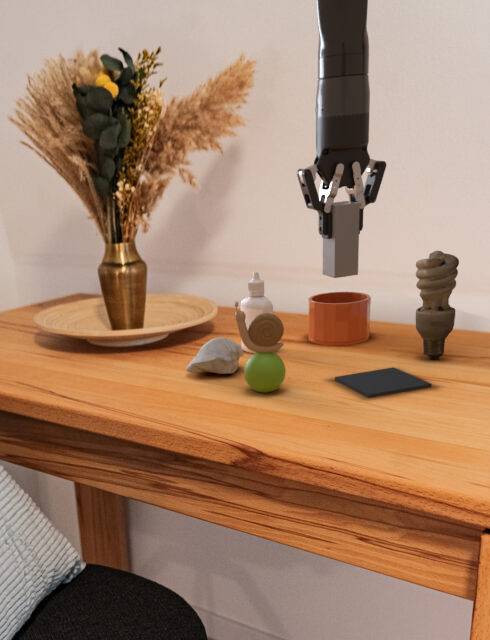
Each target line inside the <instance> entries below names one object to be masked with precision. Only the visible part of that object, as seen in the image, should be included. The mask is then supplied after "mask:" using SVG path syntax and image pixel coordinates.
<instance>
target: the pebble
mask: <svg viewBox="0 0 490 640" xmlns="http://www.w3.org/2000/svg"><path fill="white" fill-rule="evenodd" d="M241 357H244V350H243V349H242V347H241V345H240V344H238V342H236V341H235V340H233V339H232V338H228V337H220V336H219V337H215V338H212V339H210V340H209V341H207V342H205V343H204V344H203V345H202V346H201V347H200V348H199V350H198V353H197V354H195V355H194V357H193V358H192V359H191V361H190V362H189V364H187V366H186V368H185V369H186V372H187V373H215V374H221V375H222V374H224V375H225V374H234V373H235V372H236V371H237V370H238V368H239V366H240V365H239V360H240V358H241Z"/></svg>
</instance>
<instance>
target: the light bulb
mask: <svg viewBox="0 0 490 640" xmlns="http://www.w3.org/2000/svg"><path fill="white" fill-rule="evenodd" d="M459 265H460V260H459V258H458V257H457V256H456V255H453V254H450V253H446V252H443V251H442V250H434V251H433V252H430V253H429V255H428V258H423V259H419V260H417V261H416V262H415V267H416V272H415V277H416V278H417V279H418V280H417V282H416V285H415V286H416V288H417V289H418V290H419V291H420V292H419V297H420V299H421V300H422V306H420V307H417V308H416V310H415V329H416V331H417V333H418V335H420V337H421V339H422V345H423V347H422V348H423V352H422V354H423V355H424V356H427V357H428V359H429V360H430V361H437V360H440V357H443V356H444V354H445V342H446V339H447V338H448V336H449V335H450V333H452V331H453V330H454V326H455V320H456V308H455V307H452V306H451V305H450V301H449V300H450V297H451V295H452V293H453V290H454V289H456V287H457V280H456V278H457V277H458V274H459V271H458V267H459Z"/></svg>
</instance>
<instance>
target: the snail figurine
mask: <svg viewBox="0 0 490 640" xmlns="http://www.w3.org/2000/svg"><path fill="white" fill-rule="evenodd" d="M234 307H235V313H234V317H235V318H234V319H235V321H236V325H237V330H238V333H239V337H240V340H241V339H242V341H243V343H244V345H245V346H246V347H247V348H248V349H250V350H252V351H254V352H256V353H253V354H252V355H250V357H249V358H248V359H247V361H246V362H245V365H244V368H243V377H244V381H245V382H246V384H247V385H248V387H249V388H250V389H252V390H253V391H254V392H257V393H263V394H265V393H271V392H274V391H276V390H277V389H278V388H279V387H280V386H282V384H283V383H284V380H285V377H286V374H287V373H286V372H287V371H286V366H285V362H284V361H283V359H282V358H281V356H279V354H277V353H276V352H278V351H279V350H280V349H282V347H283V346H284V345H285V344H284V341H283V342H282V341H281V339H282V338H283V336H284V331H285V329H284V323H283V322H282V320H281V319H280V317H279V316H277V315H276V314H274V313H273V314H270V313H263V314H260V315H258V316H256V317H255V318H254V319H253V320H252V321H251V323H250V325H249V328H248V330H247V327H246V323H245V318H246V315H245V313H244V312H243V311H240V310H238V309H237V308H238V307H239V302H238V301H235V302H234ZM280 341H281V342H280Z"/></svg>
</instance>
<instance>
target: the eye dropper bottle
mask: <svg viewBox="0 0 490 640" xmlns="http://www.w3.org/2000/svg"><path fill="white" fill-rule="evenodd" d="M251 278H252V279H251V280H249V281H248V282H247V295H248V296H247V297H245V298H243V299H242V300H241V302H240V306H239V307H240V310H239V311H243V312H244V313H245V315H246V318H245V323H246V327H247V330H248V328H249V325H250V323H251V321H252V320H253V319H254V318H255V317H256V316H258V315H260V314H263V313H270V314H274V304H273V303H272V301H271V300H270V299H269V298H268V297H266V296H265V281H264V280H262V279H261V278H260V275H259V271H253V273H252V277H251ZM240 347H241V348H242V350H243V352H247V353H251V354H255V353H256V352H254V351H252V350H250V349H248V348H247V347H246V346H245V345H244V343H243V341H242V339H241V338H240Z"/></svg>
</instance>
